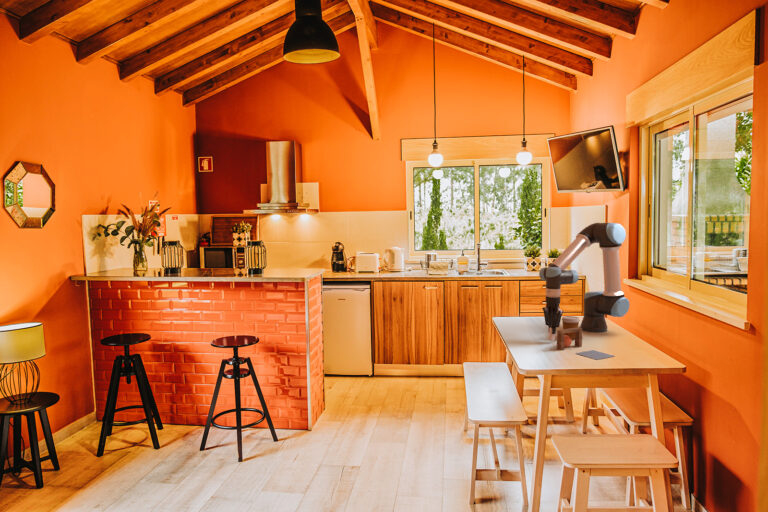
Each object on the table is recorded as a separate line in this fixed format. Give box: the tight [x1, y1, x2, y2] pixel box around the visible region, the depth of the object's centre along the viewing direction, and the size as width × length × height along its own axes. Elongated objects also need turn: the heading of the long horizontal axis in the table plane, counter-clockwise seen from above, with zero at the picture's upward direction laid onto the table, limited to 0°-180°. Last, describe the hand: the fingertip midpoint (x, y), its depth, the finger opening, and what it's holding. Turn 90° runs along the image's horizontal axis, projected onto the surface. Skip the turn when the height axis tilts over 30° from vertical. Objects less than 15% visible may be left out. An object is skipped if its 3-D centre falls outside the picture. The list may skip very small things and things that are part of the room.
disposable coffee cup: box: [561, 315, 581, 341], centre depth 288 cm, size 10×10×12 cm
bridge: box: [556, 326, 583, 351], centre depth 268 cm, size 3×15×10 cm, turn 118°
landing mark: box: [575, 349, 615, 361], centre depth 255 cm, size 13×13×1 cm
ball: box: [564, 335, 573, 348], centre depth 271 cm, size 6×6×6 cm
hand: (552, 339), depth 279 cm, fingers closed
